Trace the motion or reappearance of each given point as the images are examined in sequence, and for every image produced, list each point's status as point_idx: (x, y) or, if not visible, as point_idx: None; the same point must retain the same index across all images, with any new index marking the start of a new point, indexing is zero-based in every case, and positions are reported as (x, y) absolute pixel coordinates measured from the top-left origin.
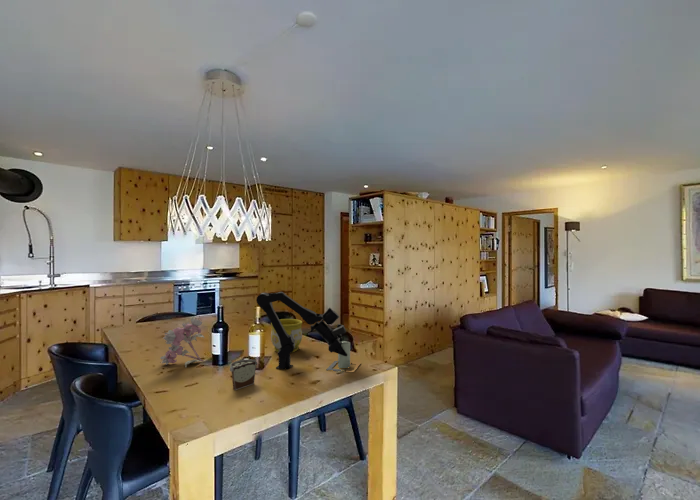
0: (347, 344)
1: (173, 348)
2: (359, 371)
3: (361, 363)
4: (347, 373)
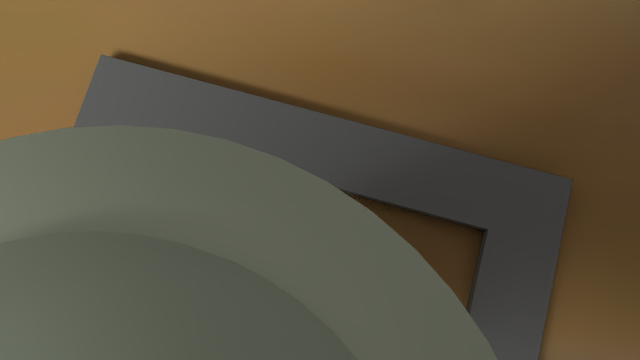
0: (462, 320)
1: None
2: (475, 97)
3: (74, 52)
4: (588, 294)
